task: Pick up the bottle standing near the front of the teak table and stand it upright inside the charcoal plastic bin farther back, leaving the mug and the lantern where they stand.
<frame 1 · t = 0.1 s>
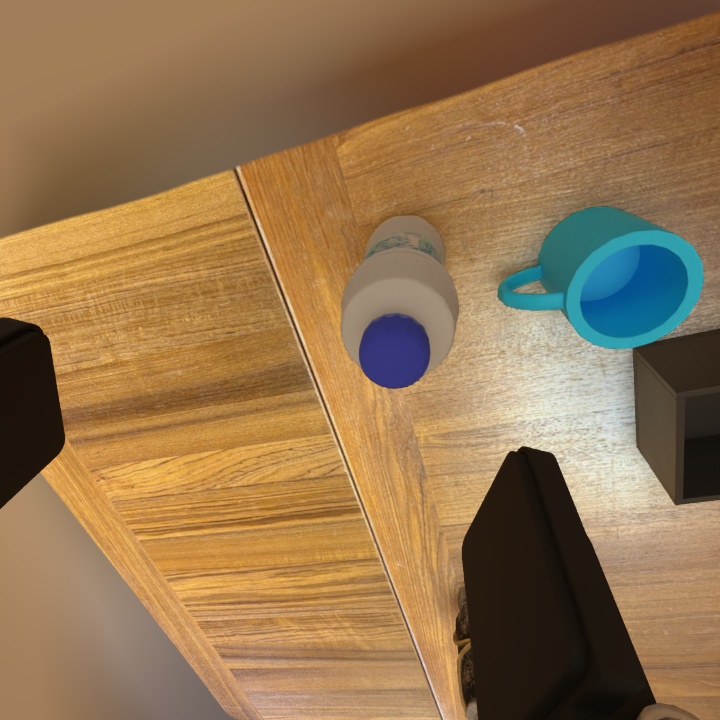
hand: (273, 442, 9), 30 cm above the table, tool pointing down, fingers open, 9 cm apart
lantern: (482, 594, 58), on the table
bin: (705, 387, 40), on the table
bottle: (405, 248, 37), on the table
mug: (564, 263, 36), on the table
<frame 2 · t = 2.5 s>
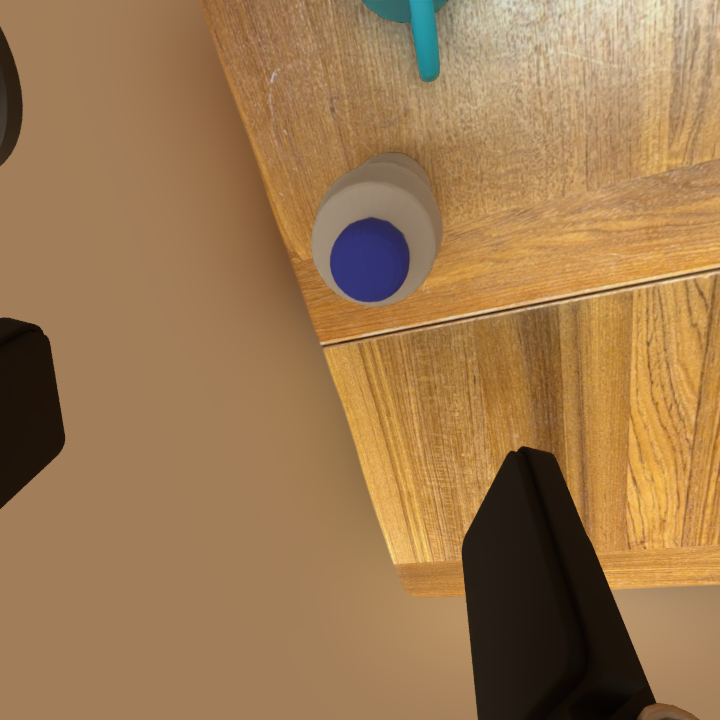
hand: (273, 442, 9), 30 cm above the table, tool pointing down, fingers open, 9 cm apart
bottle: (391, 193, 35), on the table
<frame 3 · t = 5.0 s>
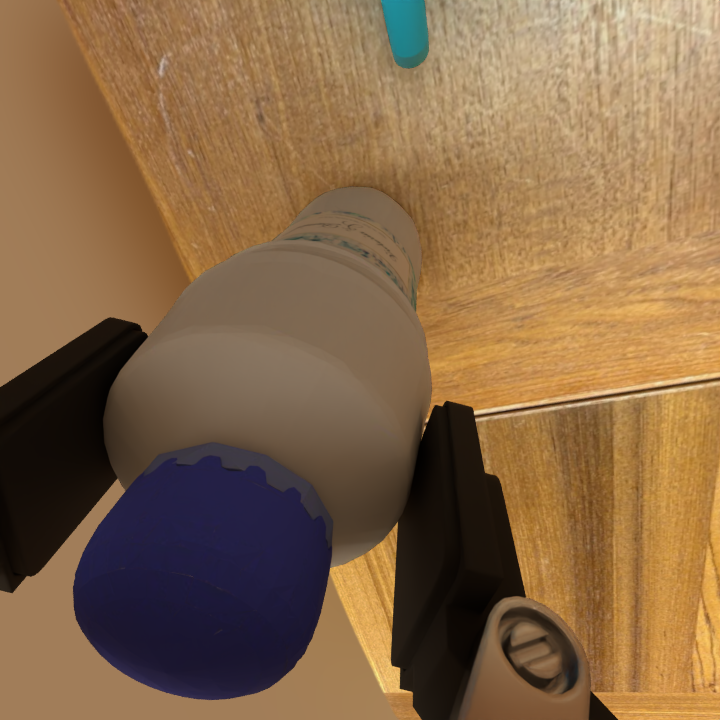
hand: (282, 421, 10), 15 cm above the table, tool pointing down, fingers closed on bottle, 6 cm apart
bottle: (360, 244, 23), on the table, touching gripper
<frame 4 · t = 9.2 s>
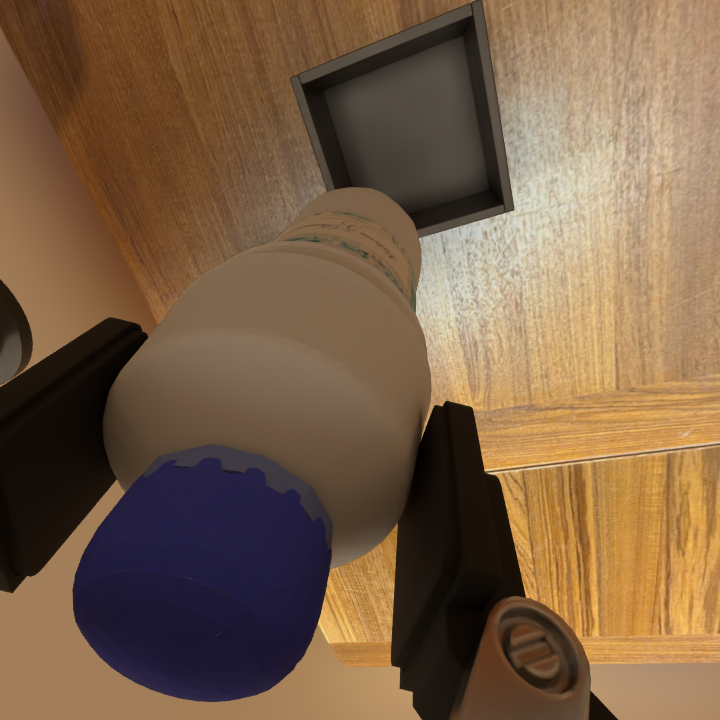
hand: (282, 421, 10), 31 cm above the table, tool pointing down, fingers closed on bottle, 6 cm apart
bin: (409, 140, 35), on the table
bottle: (360, 245, 23), point 16 cm above the table, touching gripper
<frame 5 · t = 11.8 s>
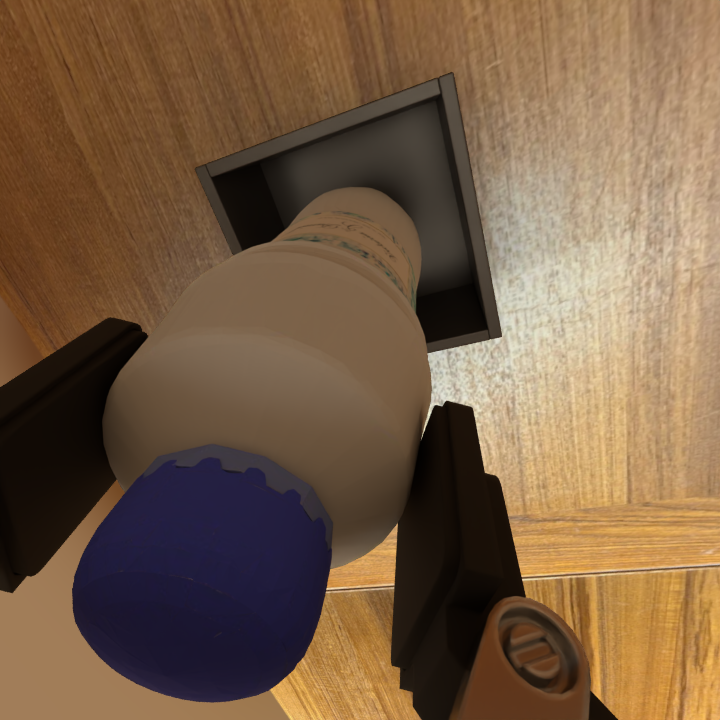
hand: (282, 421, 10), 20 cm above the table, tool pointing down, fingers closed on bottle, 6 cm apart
bin: (371, 223, 27), on the table
bottle: (360, 244, 23), point 5 cm above the table, touching gripper
when the fingers open (16 cm above the table, at t = 13.5 s): bottle stays where it is, resting on bin.
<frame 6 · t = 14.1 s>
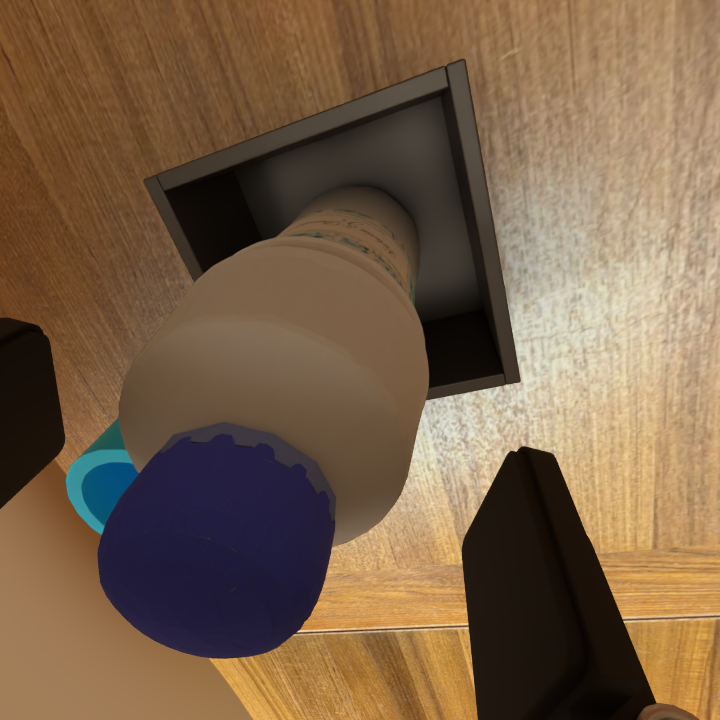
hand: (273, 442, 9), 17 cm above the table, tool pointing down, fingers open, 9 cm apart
bin: (364, 239, 24), on the table
bottle: (360, 242, 23), resting on bin
mug: (214, 437, 32), on the table
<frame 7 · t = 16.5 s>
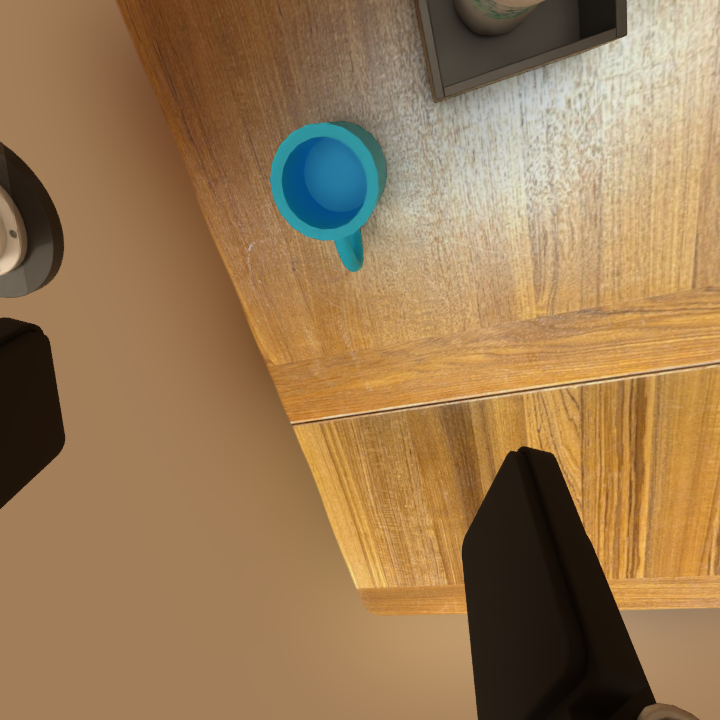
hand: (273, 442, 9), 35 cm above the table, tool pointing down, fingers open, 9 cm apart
mug: (347, 194, 40), on the table
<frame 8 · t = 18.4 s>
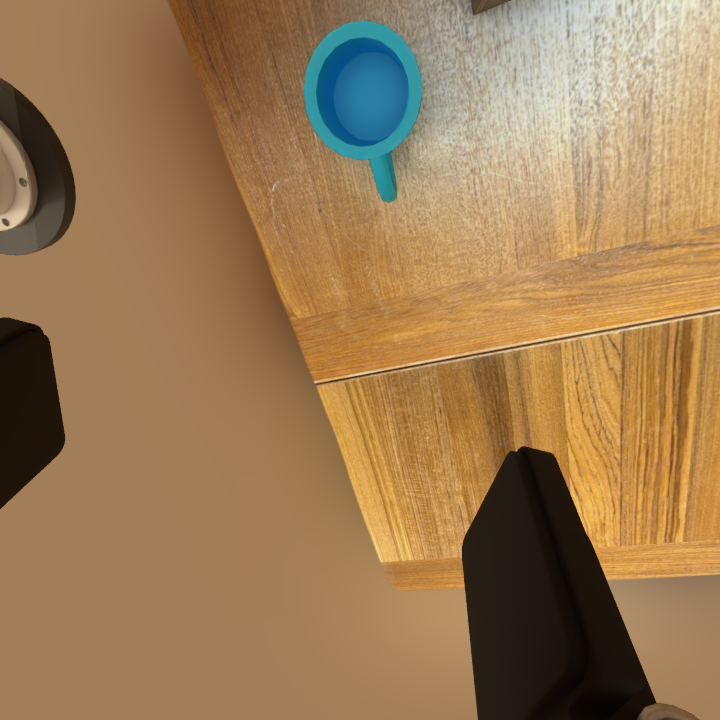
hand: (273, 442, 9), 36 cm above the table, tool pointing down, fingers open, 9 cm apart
mug: (378, 123, 38), on the table
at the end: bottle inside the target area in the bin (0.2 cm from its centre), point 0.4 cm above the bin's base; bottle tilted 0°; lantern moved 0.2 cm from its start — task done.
